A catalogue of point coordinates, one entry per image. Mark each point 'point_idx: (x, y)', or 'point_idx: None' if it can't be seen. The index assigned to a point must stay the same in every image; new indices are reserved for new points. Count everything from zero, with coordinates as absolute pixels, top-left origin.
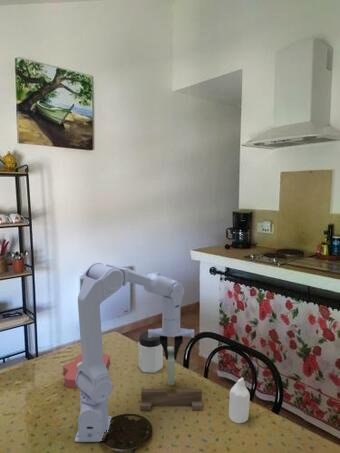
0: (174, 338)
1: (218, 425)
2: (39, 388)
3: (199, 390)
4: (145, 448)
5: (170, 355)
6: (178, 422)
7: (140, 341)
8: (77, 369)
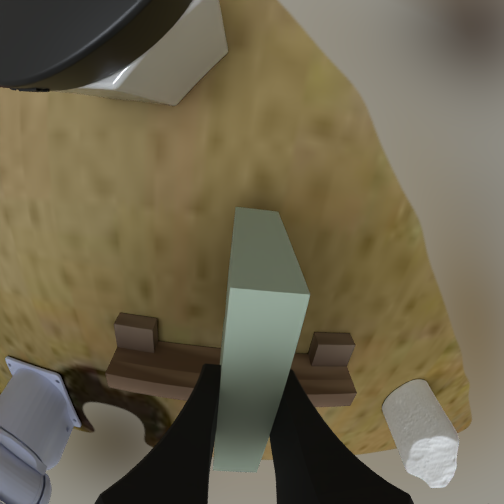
0: (314, 498)
1: (343, 422)
2: None
3: (344, 401)
4: None
5: (238, 433)
6: None
7: None
8: None
